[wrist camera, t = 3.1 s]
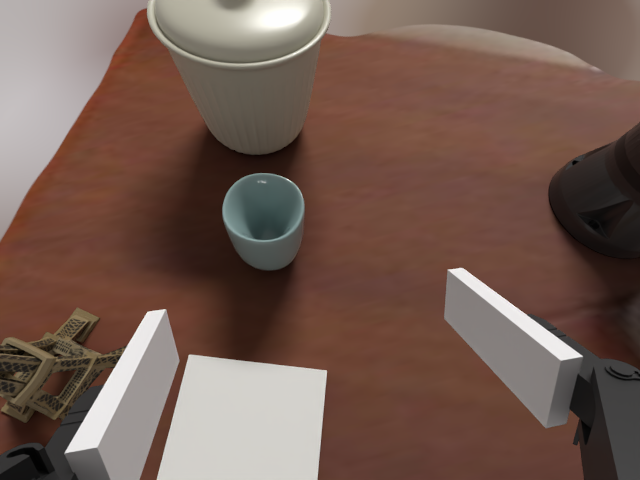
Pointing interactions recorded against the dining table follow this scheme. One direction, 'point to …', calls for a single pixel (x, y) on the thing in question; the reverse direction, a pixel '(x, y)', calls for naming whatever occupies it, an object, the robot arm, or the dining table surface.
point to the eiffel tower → (51, 368)
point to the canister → (245, 64)
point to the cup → (265, 220)
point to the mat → (245, 422)
